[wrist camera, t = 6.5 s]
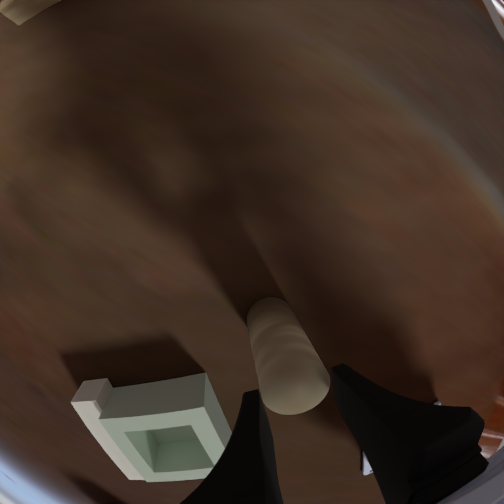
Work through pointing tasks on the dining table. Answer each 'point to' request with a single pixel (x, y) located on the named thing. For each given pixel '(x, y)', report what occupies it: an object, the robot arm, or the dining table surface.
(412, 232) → the dining table surface
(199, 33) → the dining table surface
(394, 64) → the dining table surface
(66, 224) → the dining table surface
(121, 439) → the socket block
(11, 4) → the shallow open wooden box
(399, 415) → the robot arm
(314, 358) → the dowel
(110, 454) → the backstop wall
